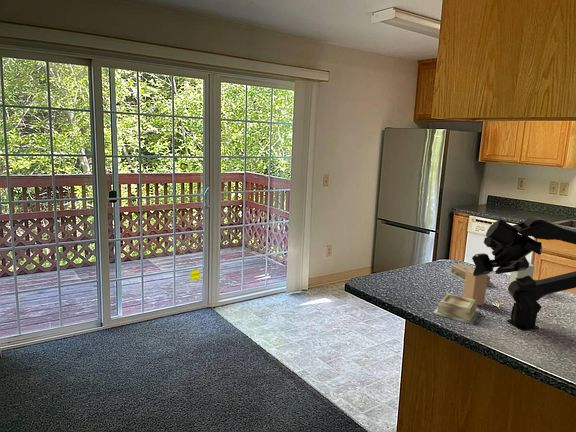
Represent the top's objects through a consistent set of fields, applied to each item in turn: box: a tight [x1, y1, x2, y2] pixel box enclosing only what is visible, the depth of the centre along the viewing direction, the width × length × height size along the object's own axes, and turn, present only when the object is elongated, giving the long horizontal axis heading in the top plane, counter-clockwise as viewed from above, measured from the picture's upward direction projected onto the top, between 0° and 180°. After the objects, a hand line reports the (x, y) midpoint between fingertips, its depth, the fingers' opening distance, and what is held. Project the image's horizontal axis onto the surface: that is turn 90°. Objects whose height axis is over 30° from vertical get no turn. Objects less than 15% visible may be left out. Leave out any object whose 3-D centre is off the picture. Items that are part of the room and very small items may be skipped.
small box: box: [508, 261, 535, 285], centre depth 166 cm, size 8×6×10 cm
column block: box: [461, 270, 489, 306], centre depth 149 cm, size 5×5×11 cm
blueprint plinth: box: [432, 293, 481, 325], centre depth 140 cm, size 12×12×4 cm
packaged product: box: [445, 262, 494, 287], centre depth 175 cm, size 18×5×10 cm
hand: (485, 273), depth 144 cm, fingers open, 9 cm apart
